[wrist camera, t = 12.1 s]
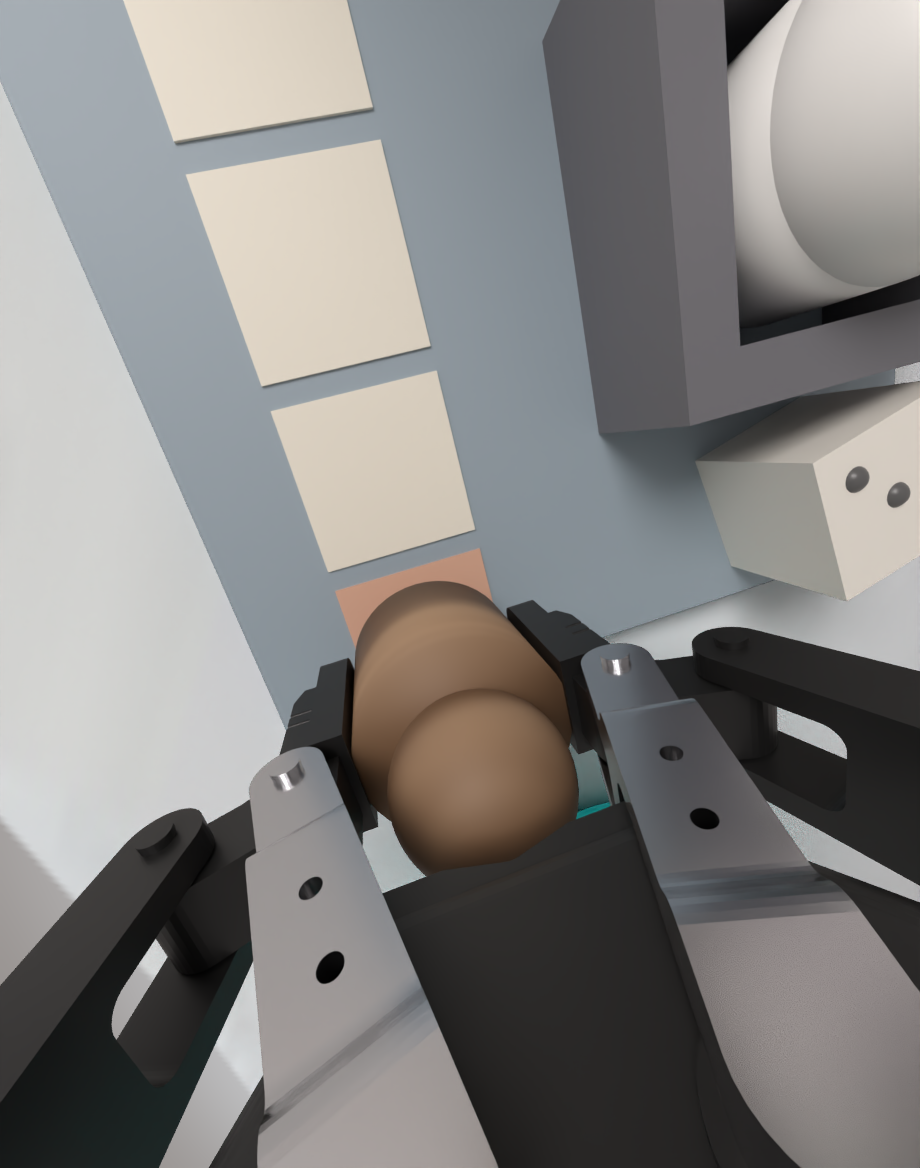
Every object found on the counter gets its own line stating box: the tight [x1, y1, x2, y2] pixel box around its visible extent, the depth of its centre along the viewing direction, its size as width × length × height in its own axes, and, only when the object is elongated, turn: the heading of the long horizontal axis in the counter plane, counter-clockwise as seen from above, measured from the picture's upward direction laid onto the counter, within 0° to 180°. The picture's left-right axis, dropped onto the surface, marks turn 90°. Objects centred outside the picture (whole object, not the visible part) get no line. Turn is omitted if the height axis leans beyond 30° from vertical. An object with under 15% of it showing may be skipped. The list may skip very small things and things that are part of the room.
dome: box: [727, 0, 920, 328], centre depth 9 cm, size 6×6×6 cm
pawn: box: [351, 581, 579, 876], centre depth 10 cm, size 4×4×7 cm
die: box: [695, 381, 920, 601], centre depth 13 cm, size 4×4×4 cm
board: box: [0, 0, 920, 730], centre depth 11 cm, size 20×22×5 cm
